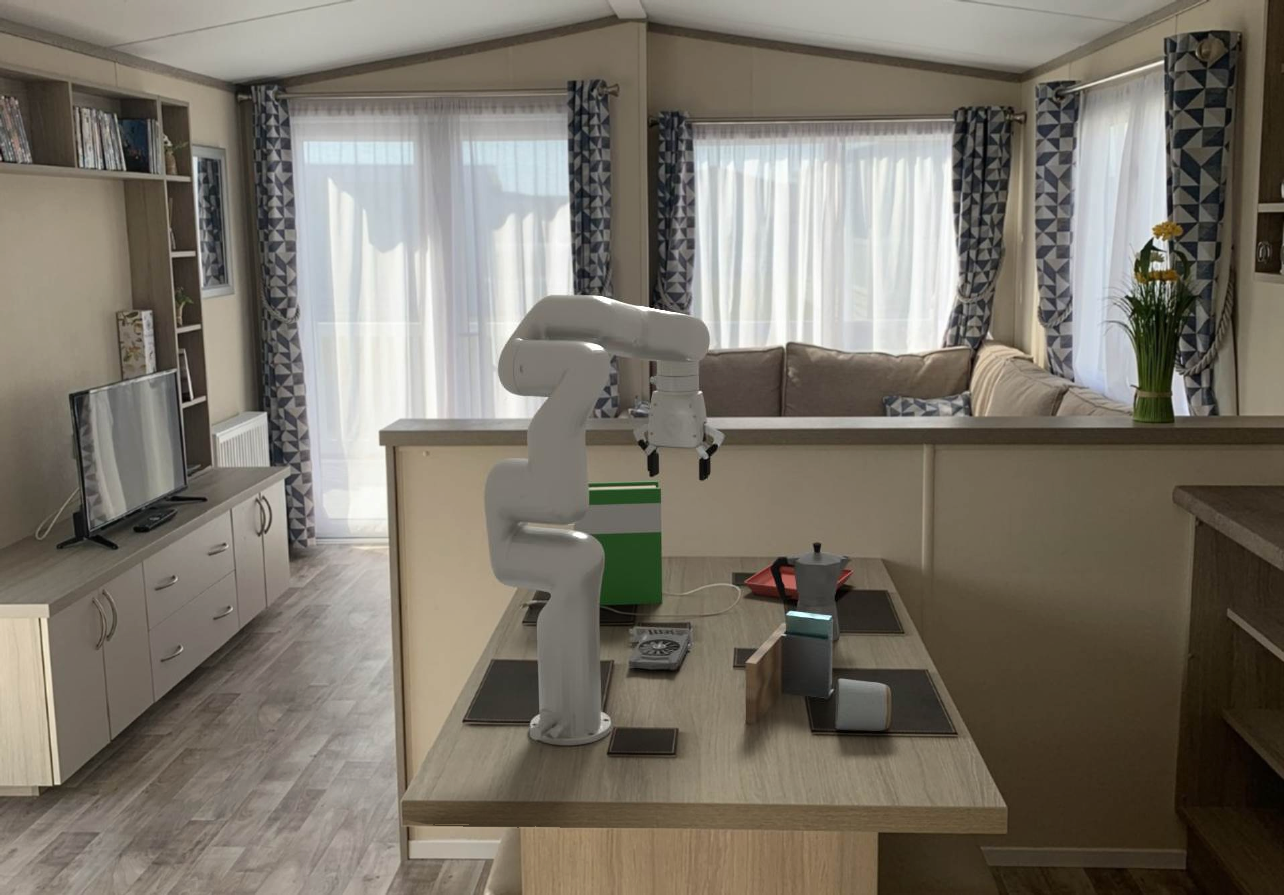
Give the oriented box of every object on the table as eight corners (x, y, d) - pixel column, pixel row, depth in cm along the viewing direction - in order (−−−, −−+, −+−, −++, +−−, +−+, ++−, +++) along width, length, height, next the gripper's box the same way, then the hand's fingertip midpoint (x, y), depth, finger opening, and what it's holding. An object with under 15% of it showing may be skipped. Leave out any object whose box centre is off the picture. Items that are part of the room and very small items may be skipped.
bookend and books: (828, 699, 202) (829, 623, 200) (781, 692, 205) (781, 617, 203) (837, 686, 208) (838, 612, 205) (791, 680, 211) (791, 607, 208)
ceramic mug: (891, 738, 187) (893, 690, 186) (836, 737, 188) (837, 688, 187) (885, 712, 197) (886, 666, 196) (833, 710, 198) (833, 664, 197)
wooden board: (755, 724, 193) (755, 663, 191) (745, 723, 193) (745, 662, 192) (791, 680, 211) (791, 623, 209) (782, 678, 211) (782, 622, 210)
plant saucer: (742, 596, 259) (742, 580, 258) (776, 573, 274) (776, 559, 273) (824, 608, 250) (824, 592, 249) (854, 584, 265) (855, 569, 265)
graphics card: (630, 624, 231) (694, 626, 229) (631, 643, 232) (694, 645, 230) (611, 657, 215) (679, 659, 213) (612, 677, 216) (680, 680, 214)
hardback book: (659, 592, 261) (657, 480, 256) (662, 603, 254) (660, 488, 249) (575, 595, 260) (572, 483, 255) (575, 606, 252) (572, 490, 248)
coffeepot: (841, 625, 239) (843, 534, 235) (857, 641, 229) (859, 547, 226) (763, 630, 236) (764, 538, 233) (776, 646, 227) (777, 551, 224)
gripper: (625, 385, 223) (627, 478, 226) (716, 389, 216) (717, 484, 219) (641, 379, 230) (642, 470, 233) (730, 383, 223) (730, 476, 226)
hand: (678, 477), depth 226 cm, fingers open, 9 cm apart
